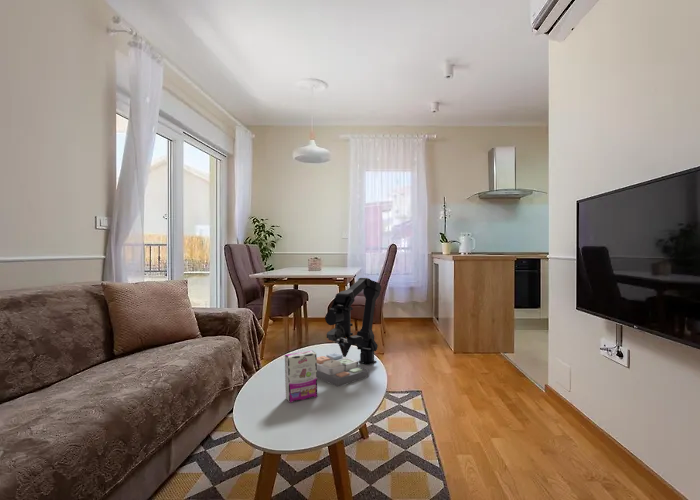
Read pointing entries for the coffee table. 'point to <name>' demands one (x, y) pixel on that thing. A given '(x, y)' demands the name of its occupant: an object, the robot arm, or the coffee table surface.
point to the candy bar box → (301, 376)
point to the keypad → (341, 373)
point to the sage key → (345, 361)
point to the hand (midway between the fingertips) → (344, 356)
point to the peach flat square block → (322, 359)
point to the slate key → (335, 356)
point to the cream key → (332, 363)
